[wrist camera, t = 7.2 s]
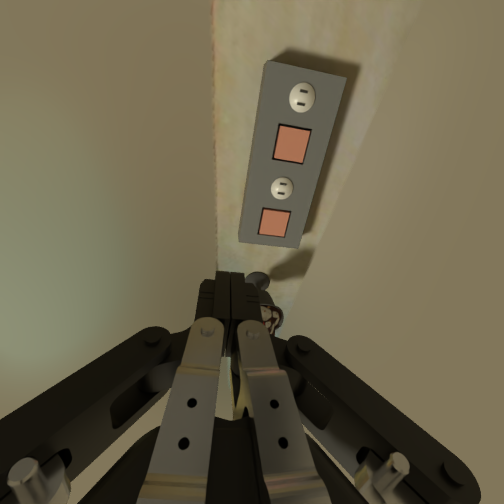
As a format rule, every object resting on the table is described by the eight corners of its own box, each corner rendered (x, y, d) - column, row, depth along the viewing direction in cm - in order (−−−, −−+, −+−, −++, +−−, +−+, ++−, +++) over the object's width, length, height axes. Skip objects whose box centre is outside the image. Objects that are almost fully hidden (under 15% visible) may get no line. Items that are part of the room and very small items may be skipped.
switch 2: (277, 124, 35) (280, 126, 33) (305, 130, 36) (310, 131, 34) (271, 155, 37) (274, 158, 35) (298, 159, 38) (302, 162, 36)
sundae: (244, 264, 47) (251, 323, 34) (278, 272, 49) (296, 331, 36) (235, 292, 50) (237, 356, 37) (267, 298, 52) (280, 362, 39)
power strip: (263, 64, 33) (267, 59, 30) (336, 80, 34) (347, 77, 31) (238, 233, 44) (238, 242, 41) (293, 239, 46) (298, 249, 42)
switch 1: (262, 204, 41) (264, 209, 39) (286, 207, 41) (289, 213, 39) (257, 227, 43) (259, 233, 40) (281, 230, 43) (283, 236, 41)
